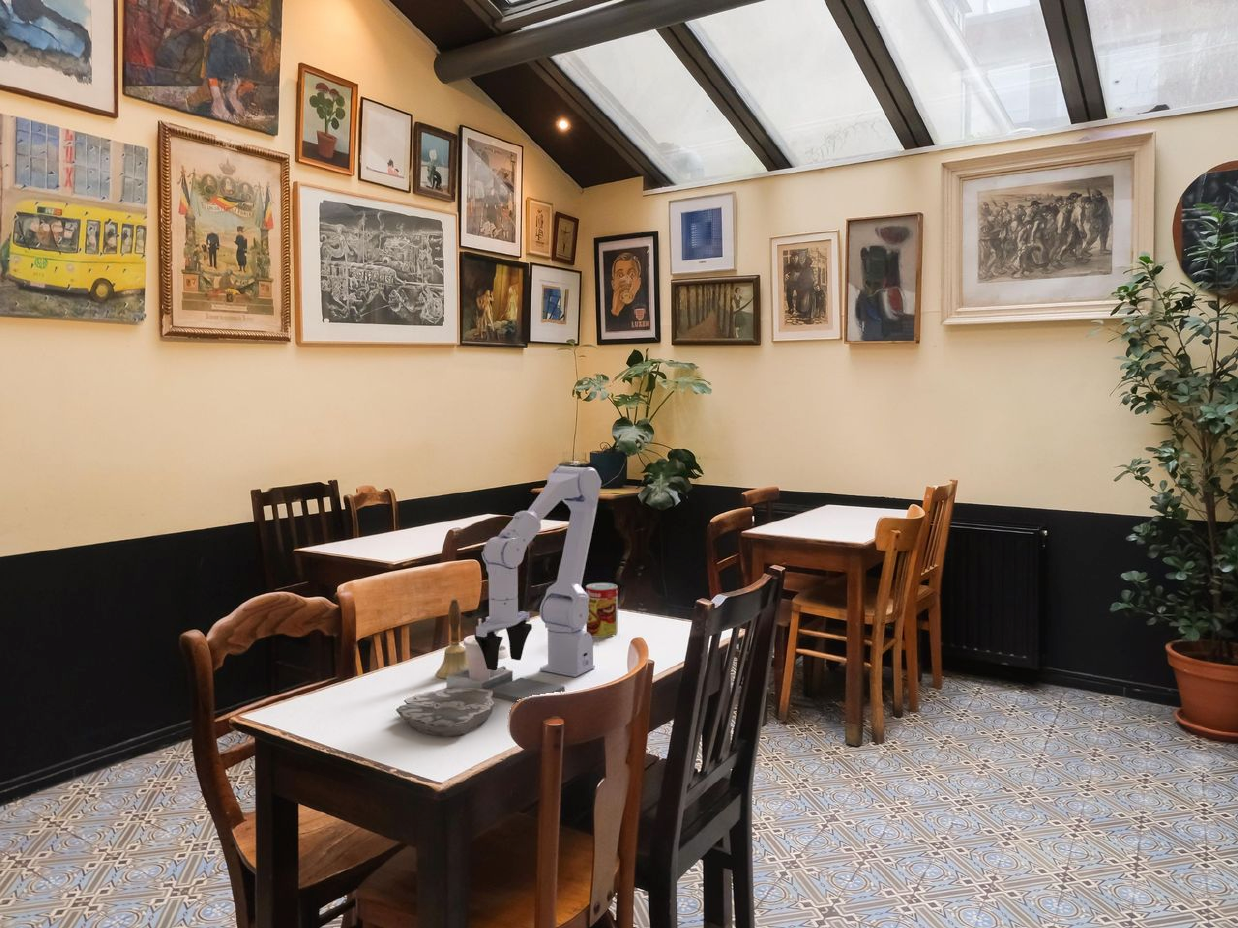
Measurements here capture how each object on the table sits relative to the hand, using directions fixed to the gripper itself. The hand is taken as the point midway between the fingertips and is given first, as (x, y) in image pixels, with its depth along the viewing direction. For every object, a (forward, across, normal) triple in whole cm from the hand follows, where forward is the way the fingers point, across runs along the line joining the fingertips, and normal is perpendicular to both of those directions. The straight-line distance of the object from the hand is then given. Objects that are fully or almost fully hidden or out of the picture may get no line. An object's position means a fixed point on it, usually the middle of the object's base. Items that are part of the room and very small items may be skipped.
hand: (504, 664), depth 174 cm
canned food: (+6, -47, -7) cm, 48 cm away
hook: (+6, -18, -18) cm, 26 cm away
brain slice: (+6, +18, +1) cm, 19 cm away
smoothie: (+6, 0, -6) cm, 9 cm away
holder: (+5, -2, -6) cm, 9 cm away
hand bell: (+6, -3, -16) cm, 17 cm away
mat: (+5, -1, +5) cm, 7 cm away
